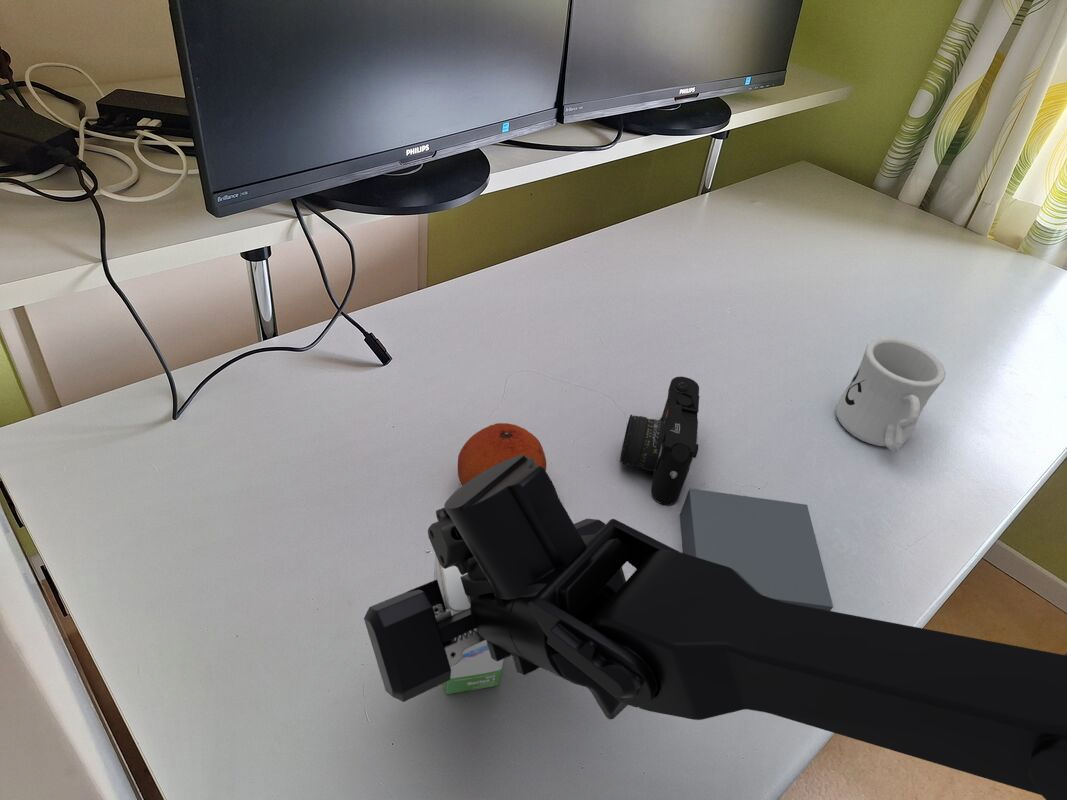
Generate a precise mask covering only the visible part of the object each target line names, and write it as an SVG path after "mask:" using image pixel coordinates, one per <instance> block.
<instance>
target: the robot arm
mask: <svg viewBox="0 0 1067 800" xmlns="http://www.w3.org/2000/svg"><path fill="white" fill-rule="evenodd" d="M435 515H436V519H437V521H435V522H433V523H431V524H430V526H429V527H428V529H427V535H428V539H429V541H430V545H431V547H432V548H433V551H434V555H435V554H436V556H437V559H438V561H439V563H440V565H441V566H442V567H443V568H444V569H446V568H449V567H451V566H456V567H457V568H458V570H459V572H460V573H461V574H462V575H464V574H466V573H468V574H466V575H464V576H461V577H460V578H461V581H462V585H463V588H464V591H465V594H466V595H467V598H468V602H469V604H470V608H469V609H466V610H464V611H462V612H460V613H457V614H455V615H453V616H452V614H451V611H450V610H448V609H446V608H445V604H444V601H443V598H442V594H441V591H440V587H439V584H438V581H437V580H434V579H433V580H432V581H429V582H427V583H424V584H422V585H420V586H417V587H414V588H411V589H409V590H407V591H406V592H402V593H400V594H398V595H396V596H393V597H391V598H388V599H385V600H384V601H380V602H378V603H375V604H374V605H370V606H369V607H368V609H367V611H366V613H365V615H364V617H363V620H364V624H365V626H366V630H367V633H368V638H369V641H370V643H371V648H372V650H373V653H374V657H375V660H376V663H377V666H378V667H377V668H378V671H379V674H380V677H381V680H382V683H383V687H384V690H385V692H387V694H389V696H391V697H392V698H394V699H396V700H398V701H400V702H403V703H405V702H407V701H409V700H412V699H413V698H416V697H417V696H420V695H422V694H423V693H426V692H428V691H430V690H432V689H435V688H436V687H438V686H440V685H443V683H445V682H447V681H449V680H450V678H451V668H450V667H452V666H454V665H456V664H458V663H459V662H460V661H461V659H462V656H463V651H464V650H465V649H467V648H469V647H471V646H474V645H476V644H478V643H480V642H482V641H484V640H486V641H487V645H488V648H489V651H490V655H491V658H492V659H494V660H495V661H497V662H498V661H500V660H502V659H506V658H508V657H510V656H511V657H512V660H513V663H514V666H515V670H516V673H518V674H520V675H522V676H526V675H528V674H530V673H532V672H534V671H536V670H539V669H540V668H541V669H544V670H545V671H547V672H549V673H551V674H553V675H555V676H557V677H560V678H561V679H564V680H566V681H568V682H569V683H571V684H573V685H576V686H580V687H583V688H584V687H585V688H587V689H588V690H589V692H590V693H591V695H592V697H593V698H594V700H595V702H596V703H597V705H598V706H599V708H600V710H601V712H602V713H603V715H604V716H605V717H606V718H607V719H608V720H610V721H612V720H614V719H615V718H617V716H618V715H620V713H622V712H623V711H624V709H626V708H627V707H628V706H629V707H633V708H639V709H640V710H643V711H646V712H651V713H655V714H662V715H667V716H673V717H676V718H677V717H678V718H682V719H689V720H692V721H693V720H694V721H703V720H707V719H710V718H711V719H712V718H715V717H719V716H723V715H727V714H732V713H735V712H740V711H743V710H748V711H754V712H760V713H766V714H771V715H774V716H776V717H780V718H783V719H787V720H789V721H793V722H797V723H800V724H804V725H807V726H810V727H814V728H817V729H820V730H823V731H827V732H830V733H833V734H837V735H840V736H843V737H847V738H850V739H853V740H856V741H860V742H863V743H867V744H870V745H873V746H876V747H880V748H883V749H886V750H890V751H893V752H896V753H900V754H903V755H907V756H910V757H913V758H916V759H919V760H923V761H927V762H929V763H933V764H937V765H939V766H943V767H946V768H949V769H952V770H956V771H960V772H963V773H966V774H969V775H973V776H977V777H980V778H983V779H987V780H990V781H992V782H996V783H1000V784H1003V785H1006V786H1008V787H1009V786H1010V787H1012V788H1016V789H1019V790H1023V791H1026V792H1029V793H1032V794H1036V795H1040V796H1041V797H1043V799H1044V800H1067V652H1066V653H1064V654H1061V653H1056V652H1051V651H1046V650H1039V649H1035V648H1029V647H1025V646H1018V645H1014V644H1007V643H1002V642H997V641H992V640H987V639H981V638H976V637H971V636H965V635H961V634H960V635H959V634H954V633H949V632H944V631H938V630H934V629H928V628H924V627H923V628H922V627H917V626H913V625H906V624H901V623H896V622H892V621H886V620H880V619H876V618H875V619H874V618H869V617H866V616H865V617H864V616H859V615H854V614H849V613H842V612H838V611H832V610H831V611H828V610H822V609H817V608H812V607H806V606H801V605H796V604H790V603H785V602H782V601H779V600H776V599H773V598H770V597H766V596H763V595H762V594H761V593H759V592H758V591H757V590H756V589H755V588H754V587H753V586H752V585H751V584H750V583H749V582H748V581H747V580H746V579H745V578H743V577H742V576H741V575H740V574H739V573H738V572H737V571H736V570H734V569H733V568H730V567H727V566H724V565H720V564H717V563H714V562H711V561H707V560H704V559H701V558H698V557H694V556H691V555H688V554H685V553H683V552H682V551H679V550H677V549H675V548H673V547H671V546H669V545H667V544H665V543H664V542H661V541H659V540H657V539H655V538H653V537H651V536H649V535H647V534H645V533H643V532H641V531H639V530H637V529H635V528H633V527H631V526H629V525H627V524H625V523H624V522H621V521H619V520H617V519H615V518H610V519H609V520H608V521H607V523H605V522H604V521H602V520H600V519H595V518H585V519H583V520H580V521H577V522H575V523H574V521H572V519H571V517H570V515H569V513H568V512H567V509H566V508H565V506H564V505H563V503H562V501H561V500H560V498H559V495H558V492H557V490H556V486H555V485H554V483H553V481H552V479H551V477H550V475H549V474H548V472H547V470H546V471H545V469H544V468H543V467H541V466H537V464H536V463H535V461H534V459H533V458H531V457H526V456H525V455H524V454H523V455H519V456H516V457H513V458H510V459H508V460H506V461H503V462H501V463H499V464H497V465H495V466H493V467H491V468H490V469H488V470H486V471H484V472H483V473H481V474H479V475H478V476H476V477H475V478H473V479H472V480H470V481H469V482H467V483H466V484H465V485H463V486H462V485H461V486H460V487H459V488H458V489H456V491H454V493H452V494H451V495H450V496H449V498H447V500H446V501H445V503H444V505H443V507H442V508H439V509H436V511H435ZM626 563H628V564H630V565H631V566H632V567H633V568H635V570H634V571H633V573H632V574H631V575H630V576H629V578H627V579H626V576H625V573H624V569H623V566H625V564H626ZM475 628H476V631H475V630H474V629H475ZM469 631H471V633H470V632H469ZM464 633H466V636H465V635H464ZM460 635H461V639H460V637H459V636H460ZM455 638H456V641H455Z"/></svg>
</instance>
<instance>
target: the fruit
mask: <svg viewBox="0 0 1067 800" xmlns="http://www.w3.org/2000/svg"><path fill="white" fill-rule="evenodd" d="M523 454H524V455H525V456H526V457H531V458H533V459H534V461H535V463H536V464H537V466H541V467H543V468H544V469H545V471H546V472H547V459H546V454H545V451H544V449H543V446H542V444H541V442H540V440H539V439H538V438H537V436H535V435H534V434H533V433H531V432H530V431H529V430H528V429H526V428H524V427H522V426H520V425H517V424H513V423H509V422H498V423H497V422H496V423H494V424H490V425H488V426H486V427H483V428H482V429H480V430H479V431H476V432H475V433H474V434H473V435H472V436H470V437H469V438H468V440H466V441H465V443H464V445H463V446H462V447H461V448H460V451H459V453H458V456H457V478H458V480H459V483H460V485H461V487H462V486H463V485H465V484H466V483H467V482H469V481H470V480H472V479H473V478H475V477H476V476H478V475H479V474H481V473H483V472H484V471H486V470H488V469H490V468H491V467H493V466H495V465H497V464H499V463H501V462H503V461H506V460H508V459H510V458H513V457H516V456H519V455H523Z"/></svg>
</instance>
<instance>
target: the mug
mask: <svg viewBox="0 0 1067 800" xmlns="http://www.w3.org/2000/svg"><path fill="white" fill-rule="evenodd" d="M946 374H947V373H946V370H945V366H944V365H943V363H942V362H941V360H940V359H939V358H938V357H937V356H936V355H935V354H934V353H933V352H931V351H930V350H928V349H926V348H925V347H924V346H921V345H919V344H917V343H915V342H912V341H910V340H907V339H903V338H900V337H899V338H898V337H889V336H886V337H885V336H884V337H878V338H875V339H873V340H871V341H870V342H869V343H868V344H866V348H865V350H864V352H863V355H862V359H861V361H860V364H859V366H858V368H857V370H856V372H855V374H854V376H853V378H852V379H851V381H850V383H849V384H848V386H847V387H846V389H845V390H844V391H843V392H842V394H841V396H840V397H839V399H838V400H837V403H836V405H835V415H836V417H837V419H838V421H839V423H840V425H841V426H842V427H843V428H844V430H846V431H847V432H848V433H849V434H850V435H852V436H853V437H855V438H856V439H858V440H860V441H863V442H865V443H867V444H869V445H873V446H878V447H886V448H887V449H888V450H889V451H892V452H894V451H899V450H900V449H902V447H903V446H904V444H905V443H906V441H908V440H909V438H911V436H912V434H913V432H914V430H915V427H916V425H917V422H918V420H919V418H920V416H921V413H922V412H923V409H924V408H925V406H926V405H927V403H928V402H929V400H930V398H931V397H932V395H933V394H934V393H935V392H936V390H937V389H938V387H940V386H941V384H942V383H943V382H944V380H945V379H946Z"/></svg>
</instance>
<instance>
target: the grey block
mask: <svg viewBox="0 0 1067 800" xmlns="http://www.w3.org/2000/svg"><path fill="white" fill-rule="evenodd" d="M811 519H812V518H811V515H810V511H809V506H808V504H805V503H797V502H792V501H784V500H776V499H769V498H763V497H754V496H748V495H741V494H740V495H739V494H732V493H725V492H718V491H711V490H704V489H698V488H690V487H689V488H688V490H687V494H686V495H685V499H684V501H683V504H682V506H681V509H680V512H679V522H680V533H681V544H682V553H685V554H688V555H691V556H694V557H698V558H701V559H704V560H707V561H711V562H714V563H717V564H720V565H724V566H727V567H730V568H733V569H734V570H736V571H737V572H738V573H739V574H740V575H741V576H742V577H743V578H745V579H746V580H747V581H748V582H749V583H750V584H751V585H752V586H753V587H754V588H755V589H756V590H757V591H758V592H759V593H761V594H762V595H763V596H766V597H770V598H773V599H776V600H779V601H782V602H785V603H790V604H796V605H801V606H806V607H812V608H817V609H822V610H828V611H832V609H833V608H834V605H833V601H832V597H831V593H830V588H829V585H828V581H827V577H826V573H825V569H824V565H823V562H822V557H821V554H820V550H819V545H818V542H817V541H818V540H817V539H816V534H815V530H814V525H813V521H812V520H811Z"/></svg>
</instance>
